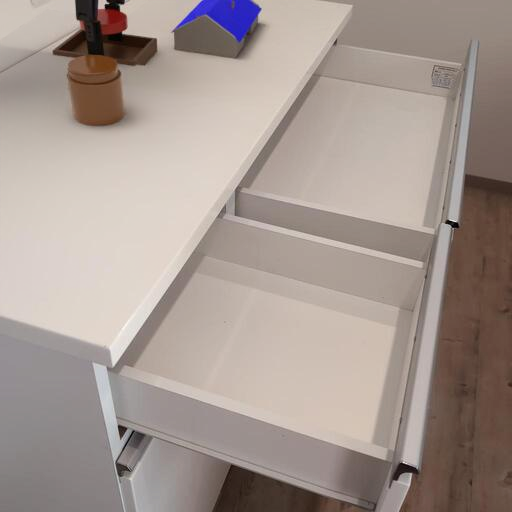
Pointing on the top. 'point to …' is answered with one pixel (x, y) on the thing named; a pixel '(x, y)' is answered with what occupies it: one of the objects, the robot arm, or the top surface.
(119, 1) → the robot arm
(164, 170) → the top surface
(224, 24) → the toy house
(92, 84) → the jar
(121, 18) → the cap
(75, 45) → the tray
